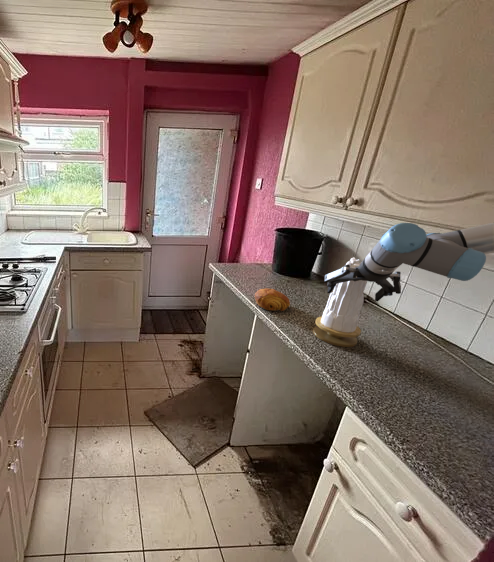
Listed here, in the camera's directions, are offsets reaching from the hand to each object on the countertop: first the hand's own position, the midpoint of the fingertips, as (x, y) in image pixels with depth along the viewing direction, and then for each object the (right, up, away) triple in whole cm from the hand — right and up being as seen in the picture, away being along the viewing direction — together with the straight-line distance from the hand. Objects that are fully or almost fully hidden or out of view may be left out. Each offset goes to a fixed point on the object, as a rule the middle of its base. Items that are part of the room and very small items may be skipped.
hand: (352, 293), depth 106 cm
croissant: (-11, -7, +35) cm, 37 cm away
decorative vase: (+1, -12, +8) cm, 15 cm away
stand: (+1, -17, +10) cm, 19 cm away
